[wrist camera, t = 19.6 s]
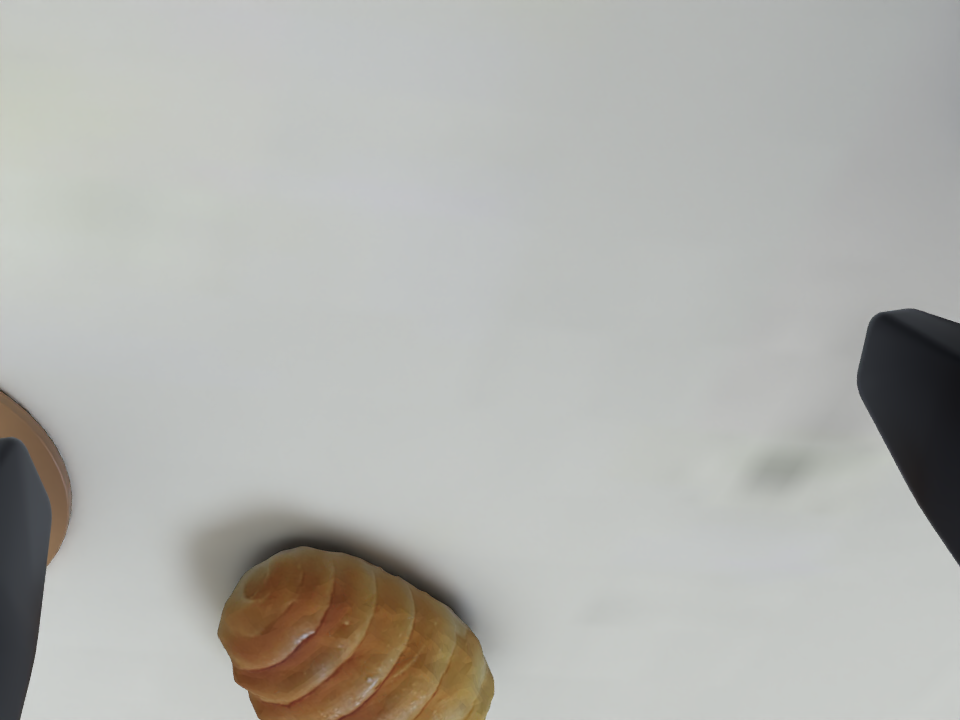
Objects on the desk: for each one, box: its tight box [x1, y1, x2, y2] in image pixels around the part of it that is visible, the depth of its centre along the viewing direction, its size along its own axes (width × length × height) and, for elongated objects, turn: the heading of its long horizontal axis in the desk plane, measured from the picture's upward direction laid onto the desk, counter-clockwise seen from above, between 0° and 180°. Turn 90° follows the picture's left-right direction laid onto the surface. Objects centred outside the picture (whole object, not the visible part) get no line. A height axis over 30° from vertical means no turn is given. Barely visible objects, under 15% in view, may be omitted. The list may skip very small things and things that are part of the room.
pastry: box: [218, 546, 494, 720], centre depth 27 cm, size 9×7×4 cm
